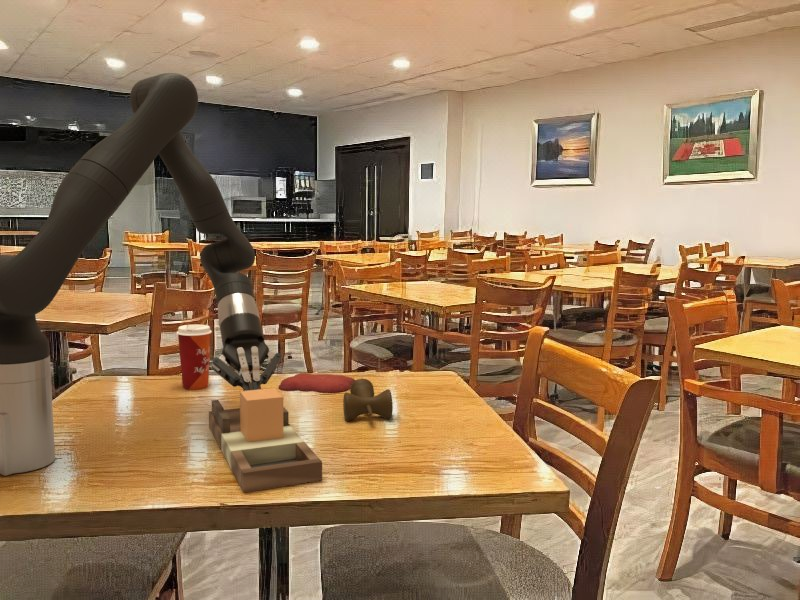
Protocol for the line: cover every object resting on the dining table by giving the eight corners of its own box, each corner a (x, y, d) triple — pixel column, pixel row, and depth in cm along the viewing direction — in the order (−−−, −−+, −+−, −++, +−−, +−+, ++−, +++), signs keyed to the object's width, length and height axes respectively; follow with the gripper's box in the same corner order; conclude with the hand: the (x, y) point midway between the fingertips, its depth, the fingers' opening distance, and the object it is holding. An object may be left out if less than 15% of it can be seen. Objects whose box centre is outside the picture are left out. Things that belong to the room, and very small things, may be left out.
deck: (209, 426, 128) (208, 398, 127) (272, 419, 133) (271, 392, 132) (243, 492, 99) (242, 456, 98) (322, 480, 104) (322, 446, 103)
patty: (272, 392, 154) (271, 383, 154) (291, 377, 168) (291, 369, 167) (346, 396, 151) (346, 388, 151) (360, 381, 165) (360, 373, 165)
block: (240, 430, 117) (239, 391, 116) (274, 426, 119) (274, 388, 118) (247, 441, 112) (247, 400, 111) (283, 437, 114) (283, 396, 113)
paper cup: (207, 391, 152) (205, 330, 150) (173, 390, 152) (171, 329, 150) (217, 382, 159) (216, 324, 158) (184, 381, 160) (183, 323, 158)
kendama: (383, 401, 149) (396, 428, 129) (339, 403, 148) (345, 431, 128) (383, 374, 148) (395, 397, 129) (339, 376, 147) (345, 400, 127)
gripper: (205, 312, 122) (218, 396, 112) (278, 309, 127) (296, 389, 118) (201, 336, 127) (213, 418, 118) (271, 332, 133) (288, 410, 123)
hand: (255, 403), depth 118 cm, fingers closed
